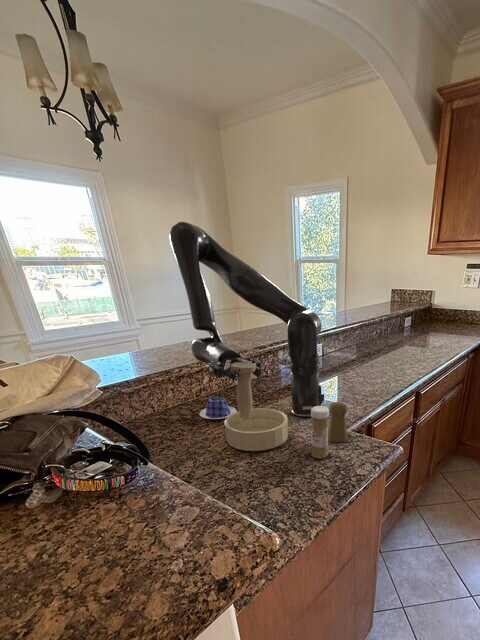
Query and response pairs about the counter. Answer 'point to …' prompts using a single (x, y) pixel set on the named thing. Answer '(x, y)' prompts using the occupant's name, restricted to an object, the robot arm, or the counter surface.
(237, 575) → the counter surface
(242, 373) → the handle
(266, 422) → the bowl
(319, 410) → the sprinkles bottle
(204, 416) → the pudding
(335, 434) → the green pepper mill
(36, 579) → the counter surface
